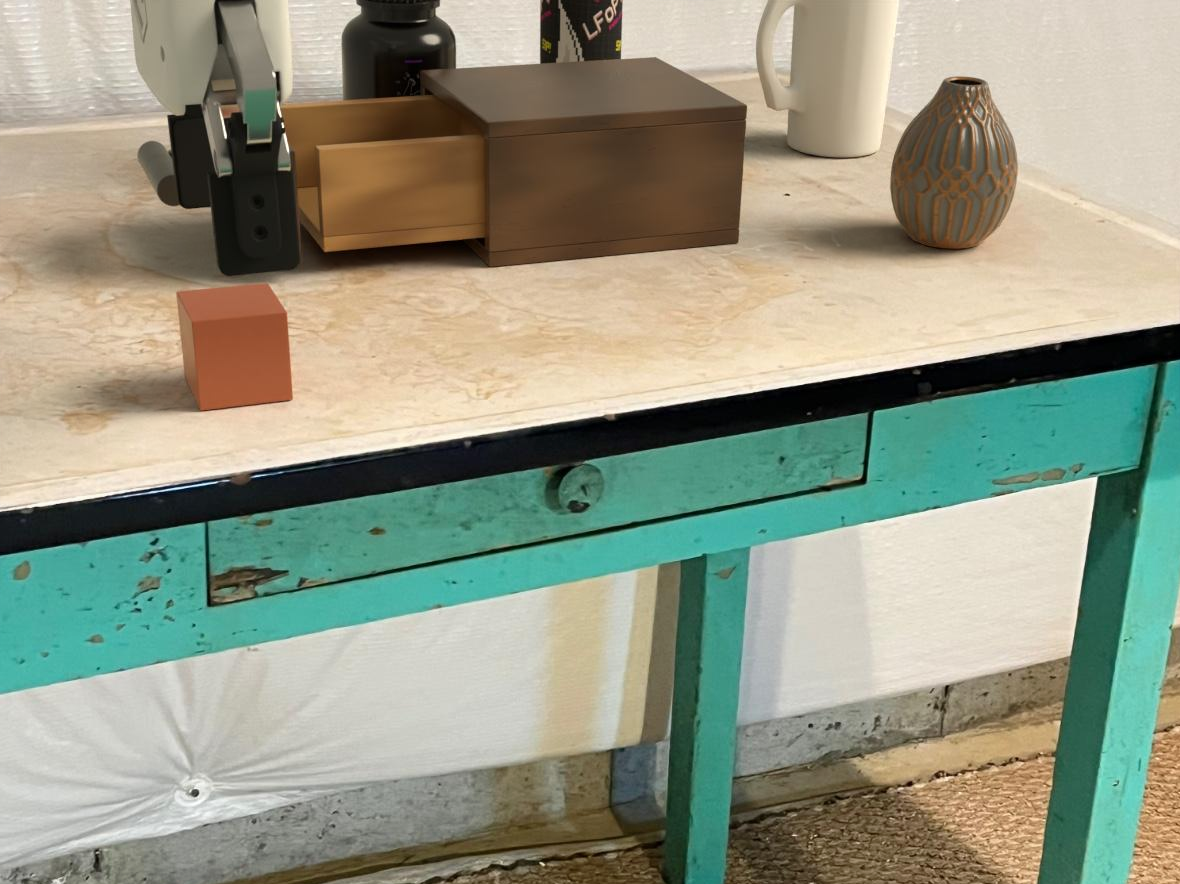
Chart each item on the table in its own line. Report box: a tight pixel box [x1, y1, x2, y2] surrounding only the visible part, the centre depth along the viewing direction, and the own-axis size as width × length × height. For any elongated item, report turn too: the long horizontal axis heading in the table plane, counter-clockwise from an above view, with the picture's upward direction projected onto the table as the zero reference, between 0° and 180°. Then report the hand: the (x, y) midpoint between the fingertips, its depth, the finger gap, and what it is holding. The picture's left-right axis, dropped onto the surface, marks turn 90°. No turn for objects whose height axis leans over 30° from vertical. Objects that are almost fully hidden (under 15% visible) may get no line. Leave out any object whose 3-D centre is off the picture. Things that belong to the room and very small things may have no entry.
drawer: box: [137, 95, 485, 265], centre depth 91 cm, size 19×11×6 cm, turn 111°
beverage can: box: [539, 0, 624, 64], centre depth 119 cm, size 6×6×12 cm
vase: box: [889, 75, 1019, 250], centre depth 94 cm, size 7×7×9 cm
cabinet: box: [420, 56, 748, 268], centre depth 95 cm, size 15×13×8 cm
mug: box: [755, 0, 900, 158], centre depth 110 cm, size 10×7×12 cm, turn 118°
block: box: [175, 282, 294, 411], centre depth 73 cm, size 4×4×4 cm
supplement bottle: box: [341, 0, 457, 100], centre depth 102 cm, size 7×7×12 cm
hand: (236, 235), depth 71 cm, fingers open, 9 cm apart
